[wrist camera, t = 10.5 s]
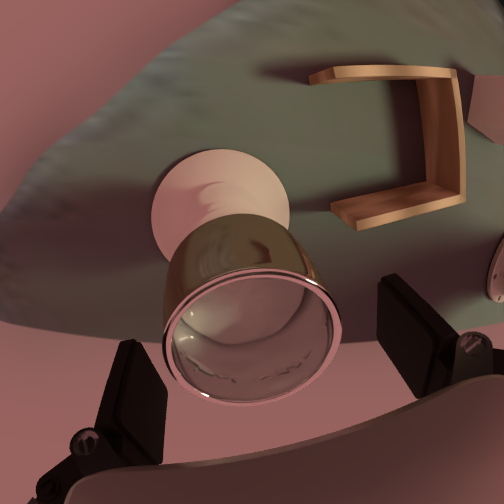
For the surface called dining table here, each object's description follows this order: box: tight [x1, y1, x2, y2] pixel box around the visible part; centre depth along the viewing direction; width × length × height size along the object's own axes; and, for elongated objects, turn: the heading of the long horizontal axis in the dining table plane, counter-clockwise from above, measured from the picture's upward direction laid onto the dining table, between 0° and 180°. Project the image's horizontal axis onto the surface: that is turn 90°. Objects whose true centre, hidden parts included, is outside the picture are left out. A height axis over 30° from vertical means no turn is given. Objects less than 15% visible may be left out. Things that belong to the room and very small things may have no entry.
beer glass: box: [162, 182, 342, 406], centre depth 17 cm, size 7×7×15 cm
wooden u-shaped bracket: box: [308, 65, 466, 231], centre depth 21 cm, size 12×12×5 cm
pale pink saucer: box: [151, 149, 290, 262], centre depth 24 cm, size 11×11×1 cm
